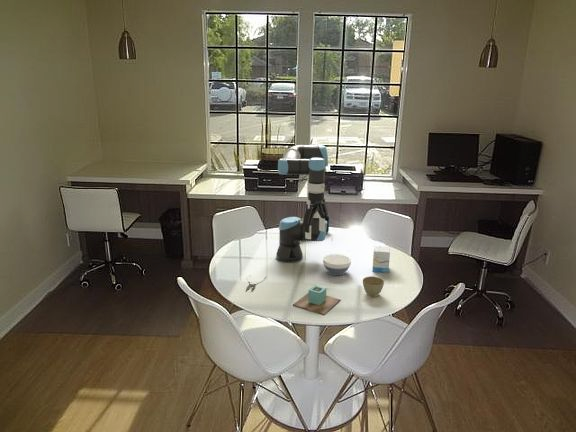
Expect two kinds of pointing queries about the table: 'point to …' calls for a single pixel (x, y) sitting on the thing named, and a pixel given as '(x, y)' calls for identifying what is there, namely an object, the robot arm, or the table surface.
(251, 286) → the pliers
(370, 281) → the flower pot
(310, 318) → the table surface
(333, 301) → the post block
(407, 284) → the table surface
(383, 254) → the ink box
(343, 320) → the table surface
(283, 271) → the table surface
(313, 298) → the collar
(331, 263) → the bowl
